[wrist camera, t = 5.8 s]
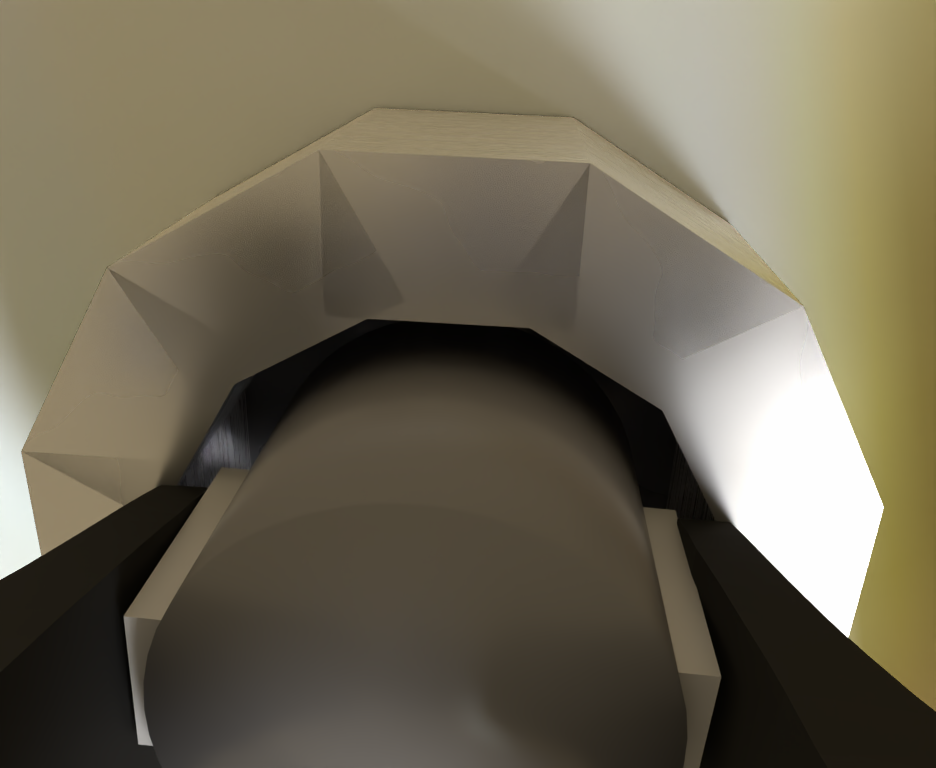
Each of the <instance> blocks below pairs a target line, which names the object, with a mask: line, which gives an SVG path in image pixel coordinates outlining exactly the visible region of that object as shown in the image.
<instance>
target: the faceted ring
mask: <svg viewBox="0 0 936 768" xmlns="http://www.w3.org/2000/svg"><path fill="white" fill-rule="evenodd" d="M401 321H416V322H433V323H451V324H468V325H485V326H503V327H514V328H517V329H519V330H521V331H524V332H526V333H528V334H531V335H533V336H536V337H538V338H540V339H541V340H543V341H545V342H547V343H548V344H550V345H552V346H554V347H555V348H557V349H559V350H560V351H562V352H563V353H564V354H565V355H567V356H568V357H569V358H571V359H572V360H573V361H575V362H576V363H577V364H579V365H580V366H581V367H582V368H583V369H584V370H585V371H586V372H587V373H588V374H589V375H590V376H591V377H592V378H593V379H594V380H595V381H596V383H597V384H598V385H599V386H600V388H601V389H602V390H603V392H604V393H605V394H606V396H607V397H608V398H609V400H610V401H611V403H612V405H613V407H614V408H615V410H616V412H617V414H618V416H619V418H620V419H621V422H622V424H623V427H624V430H625V432H626V435H627V437H628V440H629V444H630V449H631V454H632V458H633V463H634V468H635V472H636V477H637V482H638V486H639V491H640V496H641V500H642V505H643V507H647V508H657V509H668V510H675V511H676V514H677V518H684V519H699V520H714V521H721V522H730V523H732V524H733V525H734V526H735V527H736V528H737V529H738V530H739V531H740V532H741V533H742V534H743V535H744V536H745V537H746V538H747V539H748V540H749V541H750V542H751V543H752V544H753V545H754V546H755V547H756V548H757V549H758V550H759V551H760V552H761V553H762V554H763V555H764V556H765V557H766V558H767V559H768V560H769V561H770V562H771V563H772V564H773V565H774V566H775V567H776V568H777V569H778V570H779V571H780V572H781V573H782V574H783V575H784V576H785V577H786V578H787V579H788V580H789V581H790V582H791V583H792V584H793V585H794V586H795V587H796V588H797V589H798V590H799V591H800V592H801V593H802V594H803V595H804V596H805V597H806V598H807V599H808V600H809V601H810V602H811V603H812V604H813V605H814V606H815V607H816V608H817V609H818V610H819V611H820V612H821V613H822V614H823V615H824V616H825V617H826V618H828V619H829V620H830V621H831V622H832V623H833V624H834V625H835V626H836V627H837V628H838V629H839V630H840V631H841V632H843V633H844V634H845V635H846V636H847V637H848V636H849V633H850V629H851V625H852V622H853V618H854V614H855V611H856V607H857V603H858V600H859V596H860V592H861V589H862V585H863V581H864V578H865V574H866V570H867V567H868V563H869V559H870V556H871V552H872V548H873V545H874V541H875V537H876V534H877V530H878V526H879V522H880V519H881V515H882V511H883V508H884V507H883V505H882V502H881V500H880V497H879V495H878V492H877V490H876V487H875V485H874V482H873V479H872V477H871V474H870V472H869V469H868V467H867V464H866V462H865V459H864V457H863V454H862V452H861V449H860V447H859V444H858V442H857V439H856V437H855V434H854V432H853V429H852V427H851V424H850V422H849V419H848V417H847V414H846V412H845V409H844V407H843V404H842V402H841V399H840V396H839V394H838V391H837V389H836V386H835V384H834V381H833V379H832V376H831V374H830V371H829V369H828V366H827V364H826V361H825V359H824V356H823V354H822V351H821V349H820V346H819V344H818V341H817V339H816V336H815V334H814V331H813V329H812V326H811V324H810V321H809V319H808V316H807V313H806V311H805V308H804V306H803V305H802V304H801V303H800V302H799V300H798V299H797V298H796V297H795V296H794V295H793V294H792V293H791V291H790V290H789V289H788V288H787V287H786V286H785V285H784V284H783V282H782V281H781V280H780V279H779V278H778V277H777V276H776V274H775V273H774V272H773V271H772V270H771V269H770V268H769V267H768V265H767V264H766V263H765V262H764V261H763V260H762V259H761V258H760V256H759V255H758V254H757V253H756V252H755V251H754V250H753V248H752V247H751V246H750V245H749V244H748V243H747V242H746V241H745V239H744V238H743V237H742V236H741V235H740V234H739V233H738V232H737V230H736V229H735V228H734V227H733V226H732V225H731V224H730V223H728V222H727V221H725V220H724V219H722V218H721V217H719V216H718V215H716V214H715V213H713V212H712V211H710V210H709V209H708V208H706V207H705V206H703V205H702V204H700V203H699V202H697V201H696V200H694V199H693V198H691V197H690V196H688V195H687V194H685V193H684V192H682V191H681V190H680V189H678V188H677V187H675V186H674V185H672V184H671V183H669V182H668V181H666V180H665V179H663V178H662V177H660V176H659V175H657V174H656V173H654V172H653V171H652V170H650V169H649V168H647V167H646V166H644V165H643V164H641V163H640V162H638V161H637V160H635V159H634V158H632V157H631V156H629V155H628V154H626V153H625V152H624V151H622V150H621V149H619V148H618V147H616V146H615V145H613V144H612V143H610V142H609V141H607V140H606V139H604V138H603V137H601V136H600V135H598V134H597V133H596V132H594V131H593V130H591V129H590V128H588V127H587V126H585V125H584V124H582V123H581V122H579V121H578V120H576V119H575V118H573V117H557V116H535V115H514V114H493V113H472V112H451V111H430V110H409V109H388V108H374V109H372V110H370V111H369V112H367V113H365V114H363V115H361V116H360V117H358V118H356V119H354V120H353V121H351V122H349V123H347V124H345V125H344V126H342V127H340V128H338V129H336V130H335V131H333V132H331V133H329V134H328V135H326V136H324V137H322V138H320V139H319V140H317V141H315V142H313V143H311V144H310V145H308V146H306V147H304V148H303V149H301V150H299V151H297V152H295V153H294V154H292V155H290V156H288V157H286V158H285V159H283V160H281V161H279V162H277V163H276V164H274V165H272V166H270V167H269V168H267V169H265V170H263V171H261V172H260V173H258V174H256V175H254V176H252V177H251V178H249V179H247V180H245V181H244V182H242V183H240V184H238V185H236V186H235V187H233V188H231V189H229V190H227V191H226V192H224V193H222V194H220V195H219V196H217V197H215V198H213V199H212V200H210V201H209V202H207V203H206V204H204V205H202V206H201V207H199V208H198V209H196V210H195V211H193V212H192V213H190V214H189V215H187V216H185V217H184V218H182V219H181V220H179V221H178V222H176V223H175V224H173V225H172V226H170V227H168V228H167V229H165V230H164V231H162V232H161V233H159V234H158V235H156V236H155V237H153V238H151V239H150V240H148V241H147V242H145V243H144V244H142V245H141V246H139V247H138V248H136V249H135V250H133V251H131V252H130V253H128V254H127V255H125V256H124V257H122V258H121V259H119V260H118V261H116V262H114V263H113V264H111V265H110V266H108V267H107V268H106V270H105V273H104V275H103V277H102V279H101V281H100V283H99V286H98V288H97V290H96V292H95V294H94V296H93V298H92V301H91V303H90V305H89V307H88V309H87V311H86V313H85V316H84V318H83V320H82V322H81V324H80V326H79V328H78V331H77V333H76V335H75V337H74V339H73V341H72V344H71V346H70V348H69V350H68V352H67V354H66V356H65V359H64V361H63V363H62V365H61V367H60V369H59V371H58V374H57V376H56V378H55V380H54V382H53V384H52V386H51V389H50V391H49V393H48V395H47V397H46V399H45V402H44V404H43V406H42V408H41V410H40V412H39V414H38V417H37V419H36V421H35V423H34V425H33V427H32V429H31V432H30V434H29V436H28V438H27V440H26V442H25V444H24V447H23V449H22V451H21V452H22V457H23V463H24V468H25V473H26V478H27V483H28V488H29V494H30V499H31V504H32V509H33V514H34V519H35V524H36V530H37V535H38V540H39V545H40V550H41V555H42V556H43V555H44V554H46V553H47V552H49V551H51V550H52V549H54V548H56V547H57V546H59V545H61V544H62V543H64V542H66V541H67V540H69V539H71V538H72V537H74V536H75V535H77V534H79V533H80V532H82V531H84V530H85V529H87V528H89V527H90V526H92V525H93V524H95V523H97V522H98V521H100V520H101V519H103V518H105V517H106V516H108V515H110V514H111V513H113V512H114V511H116V510H118V509H119V508H121V507H123V506H124V505H126V504H128V503H129V502H131V501H133V500H134V499H136V498H138V497H140V496H141V495H143V494H145V493H147V492H148V491H150V490H152V489H154V488H156V487H158V486H160V485H173V486H177V485H180V486H195V487H209V486H210V484H211V483H212V481H213V480H214V478H215V477H216V475H217V474H218V472H219V471H220V469H221V468H222V467H226V468H236V469H247V470H250V469H251V467H252V465H253V464H254V462H255V460H256V459H257V457H258V455H259V454H260V452H261V450H262V449H263V447H264V445H265V444H266V442H267V440H268V439H269V437H270V435H271V434H272V432H273V430H274V429H275V427H276V425H277V424H278V422H279V420H280V419H281V417H282V415H283V414H284V412H285V410H286V409H287V407H288V405H289V403H290V402H291V400H292V398H293V397H294V395H295V393H296V392H297V390H298V389H299V388H300V386H301V385H302V384H303V382H304V381H305V380H306V378H307V377H308V376H309V375H310V373H311V372H312V371H313V370H314V369H315V368H316V367H317V366H318V365H319V364H321V363H322V362H323V361H324V360H325V359H326V358H327V357H328V356H329V355H331V354H332V353H334V352H335V351H336V350H338V349H339V348H340V347H342V346H343V345H345V344H346V343H348V342H350V341H352V340H354V339H356V338H357V337H359V336H361V335H363V334H365V333H367V332H370V331H372V330H375V329H378V328H381V327H383V326H386V325H389V324H393V323H397V322H401Z"/></svg>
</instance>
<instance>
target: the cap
mask: <svg viewBox="0 0 936 768" xmlns="http://www.w3.org/2000/svg"><path fill="white" fill-rule="evenodd" d="M677 519H678V518H677V514H676V511H675V510H668V509H657V508H647V507H643V505H642V500H641V496H640V491H639V486H638V482H637V477H636V472H635V468H634V463H633V458H632V454H631V449H630V444H629V440H628V437H627V435H626V432H625V430H624V427H623V424H622V422H621V419H620V418H619V416H618V414H617V412H616V410H615V408H614V407H613V405H612V403H611V401H610V400H609V398H608V397H607V396H606V394H605V393H604V392H603V390H602V389H601V388H600V386H599V385H598V384H597V383H596V381H595V380H594V379H593V378H592V377H591V376H590V375H589V374H588V373H587V372H586V371H585V370H584V369H583V368H582V367H581V366H580V365H579V364H577V363H576V362H575V361H573V360H572V359H571V358H569V357H568V356H567V355H565V354H564V353H563V352H562V351H560V350H559V349H557V348H555V347H554V346H552V345H550V344H548V343H547V342H545V341H543V340H541V339H540V338H538V337H536V336H533V335H531V334H528V333H526V332H524V331H521V330H519V329H517V328H514V327H503V326H485V325H468V324H451V323H433V322H416V321H401V322H397V323H393V324H389V325H386V326H383V327H381V328H378V329H375V330H372V331H370V332H367V333H365V334H363V335H361V336H359V337H357V338H356V339H354V340H352V341H350V342H348V343H346V344H345V345H343V346H342V347H340V348H339V349H338V350H336V351H335V352H334V353H332V354H331V355H329V356H328V357H327V358H326V359H325V360H324V361H323V362H322V363H321V364H319V365H318V366H317V367H316V368H315V369H314V370H313V371H312V372H311V373H310V375H309V376H308V377H307V378H306V380H305V381H304V382H303V384H302V385H301V386H300V388H299V389H298V390H297V392H296V393H295V395H294V397H293V398H292V400H291V402H290V403H289V405H288V407H287V409H286V410H285V412H284V414H283V415H282V417H281V419H280V420H279V422H278V424H277V425H276V427H275V429H274V430H273V432H272V434H271V435H270V437H269V439H268V440H267V442H266V444H265V445H264V447H263V449H262V450H261V452H260V454H259V455H258V457H257V459H256V460H255V462H254V464H253V465H252V467H251V469H250V470H247V469H236V468H226V467H222V468H221V469H220V471H219V472H218V474H217V475H216V477H215V478H214V480H213V481H212V483H211V484H210V486H209V487H208V489H207V490H206V492H205V493H204V495H203V496H202V498H201V499H200V501H199V502H198V504H197V506H196V507H195V509H194V510H193V512H192V513H191V515H190V516H189V518H188V519H187V521H186V522H185V524H184V525H183V527H182V528H181V530H180V531H179V533H178V534H177V536H176V537H175V539H174V540H173V542H172V543H171V545H170V546H169V548H168V549H167V551H166V553H165V554H164V556H163V557H162V559H161V560H160V562H159V563H158V565H157V566H156V568H155V569H154V571H153V572H152V574H151V575H150V577H149V578H148V580H147V581H146V583H145V584H144V586H143V587H142V589H141V590H140V592H139V593H138V595H137V596H136V598H135V600H134V601H133V603H132V604H131V606H130V607H129V609H128V610H127V612H126V613H125V615H124V625H125V634H126V642H127V651H128V659H129V668H130V677H131V685H132V694H133V702H134V711H135V720H136V728H137V737H138V744H140V745H149V746H153V747H154V750H155V753H156V755H157V758H158V761H159V763H160V765H161V766H162V768H699V767H700V763H701V759H702V754H703V750H704V746H705V742H706V738H707V734H708V730H709V726H710V721H711V717H712V713H713V709H714V705H715V701H716V697H717V693H718V689H719V684H720V680H721V674H720V670H719V666H718V663H717V659H716V656H715V652H714V648H713V645H712V641H711V637H710V634H709V630H708V627H707V623H706V619H705V616H704V612H703V608H702V605H701V601H700V598H699V594H698V590H697V587H696V585H695V583H694V580H693V578H692V575H691V572H690V568H689V565H688V561H687V558H686V554H685V551H684V547H683V544H682V540H681V537H680V533H679V530H678V526H677Z"/></svg>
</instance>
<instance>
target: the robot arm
mask: <svg viewBox="0 0 936 768" xmlns="http://www.w3.org/2000/svg"><path fill="white" fill-rule="evenodd" d="M207 489H208V487H195V486H180V485H177V486H173V485H160V486H158V487H156V488H154V489H152V490H150V491H148V492H147V493H145V494H143V495H141V496H140V497H138V498H136V499H134V500H133V501H131V502H129V503H128V504H126V505H124V506H123V507H121V508H119V509H118V510H116V511H114V512H113V513H111V514H110V515H108V516H106V517H105V518H103V519H101V520H100V521H98V522H97V523H95V524H93V525H92V526H90V527H89V528H87V529H85V530H84V531H82V532H80V533H79V534H77V535H75V536H74V537H72V538H71V539H69V540H67V541H66V542H64V543H62V544H61V545H59V546H57V547H56V548H54V549H52V550H51V551H49V552H47V553H46V554H44V555H43V556H41V557H39V558H38V559H36V560H34V561H33V562H31V563H29V564H28V565H26V566H24V567H23V568H21V569H19V570H17V571H15V572H14V573H12V574H10V575H8V576H7V577H5V578H3V579H1V580H0V768H162V766H161V765H160V763H159V761H158V758H157V755H156V753H155V750H154V747H153V746H149V745H140V744H138V737H137V728H136V720H135V711H134V702H133V694H132V685H131V677H130V668H129V659H128V651H127V642H126V634H125V625H124V615H125V613H126V612H127V610H128V609H129V607H130V606H131V604H132V603H133V601H134V600H135V598H136V596H137V595H138V593H139V592H140V590H141V589H142V587H143V586H144V584H145V583H146V581H147V580H148V578H149V577H150V575H151V574H152V572H153V571H154V569H155V568H156V566H157V565H158V563H159V562H160V560H161V559H162V557H163V556H164V554H165V553H166V551H167V549H168V548H169V546H170V545H171V543H172V542H173V540H174V539H175V537H176V536H177V534H178V533H179V531H180V530H181V528H182V527H183V525H184V524H185V522H186V521H187V519H188V518H189V516H190V515H191V513H192V512H193V510H194V509H195V507H196V506H197V504H198V502H199V501H200V499H201V498H202V496H203V495H204V493H205V492H206V490H207ZM677 526H678V530H679V533H680V537H681V540H682V544H683V547H684V551H685V554H686V558H687V561H688V565H689V568H690V572H691V575H692V578H693V580H694V583H695V585H696V587H697V590H698V594H699V598H700V601H701V605H702V608H703V612H704V616H705V619H706V623H707V627H708V630H709V634H710V637H711V641H712V645H713V648H714V652H715V656H716V659H717V663H718V666H719V670H720V674H721V680H720V684H719V689H718V693H717V697H716V701H715V705H714V709H713V713H712V717H711V721H710V726H709V730H708V734H707V738H706V742H705V746H704V750H703V754H702V759H701V763H700V767H699V768H936V712H935V711H934V710H933V709H932V708H930V707H929V706H928V705H927V704H925V703H924V702H923V701H921V700H920V699H919V698H918V697H916V696H915V695H914V694H913V693H912V692H910V691H909V690H908V689H907V688H906V687H904V686H903V685H902V684H901V683H900V682H899V681H897V680H896V679H895V678H894V677H893V676H892V675H890V674H889V673H888V672H887V671H886V670H884V669H883V668H882V667H881V666H880V665H879V664H877V663H876V662H875V661H874V660H873V659H872V658H870V657H869V656H868V655H867V654H866V653H865V652H864V651H862V650H861V649H860V648H859V647H858V646H857V645H856V644H855V643H854V642H852V641H851V640H850V639H849V638H848V637H847V636H846V635H845V634H844V633H843V632H841V631H840V630H839V629H838V628H837V627H836V626H835V625H834V624H833V623H832V622H831V621H830V620H829V619H828V618H826V617H825V616H824V615H823V614H822V613H821V612H820V611H819V610H818V609H817V608H816V607H815V606H814V605H813V604H812V603H811V602H810V601H809V600H808V599H807V598H806V597H805V596H804V595H803V594H802V593H801V592H800V591H799V590H798V589H797V588H796V587H795V586H794V585H793V584H792V583H791V582H790V581H789V580H788V579H787V578H786V577H785V576H784V575H783V574H782V573H781V572H780V571H779V570H778V569H777V568H776V567H775V566H774V565H773V564H772V563H771V562H770V561H769V560H768V559H767V558H766V557H765V556H764V555H763V554H762V553H761V552H760V551H759V550H758V549H757V548H756V547H755V546H754V545H753V544H752V543H751V542H750V541H749V540H748V539H747V538H746V537H745V536H744V535H743V534H742V533H741V532H740V531H739V530H738V529H737V528H736V527H735V526H734V525H733V524H732V523H730V522H721V521H714V520H699V519H684V518H678V519H677Z"/></svg>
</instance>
